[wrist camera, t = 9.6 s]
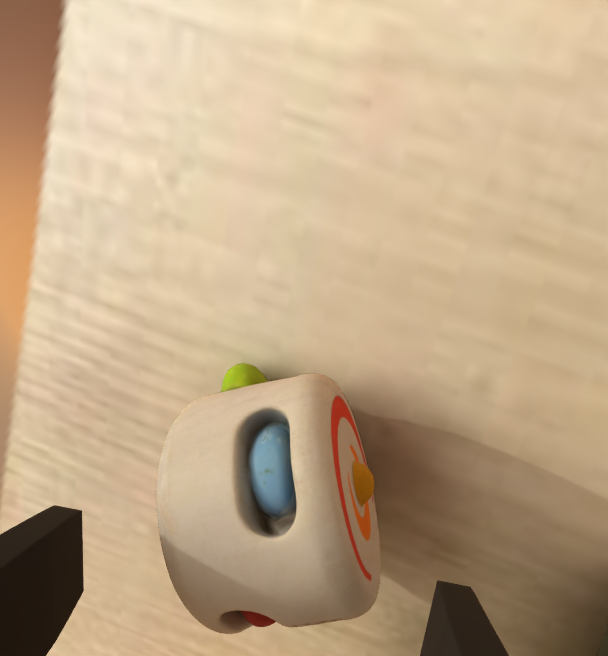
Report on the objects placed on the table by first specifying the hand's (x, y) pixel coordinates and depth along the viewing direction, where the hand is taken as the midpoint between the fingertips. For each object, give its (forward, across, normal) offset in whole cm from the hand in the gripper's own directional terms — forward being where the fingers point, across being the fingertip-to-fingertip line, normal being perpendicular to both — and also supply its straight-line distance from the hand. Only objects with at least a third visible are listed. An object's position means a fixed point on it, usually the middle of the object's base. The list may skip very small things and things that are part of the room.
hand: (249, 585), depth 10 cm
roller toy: (+6, 0, 0) cm, 6 cm away
